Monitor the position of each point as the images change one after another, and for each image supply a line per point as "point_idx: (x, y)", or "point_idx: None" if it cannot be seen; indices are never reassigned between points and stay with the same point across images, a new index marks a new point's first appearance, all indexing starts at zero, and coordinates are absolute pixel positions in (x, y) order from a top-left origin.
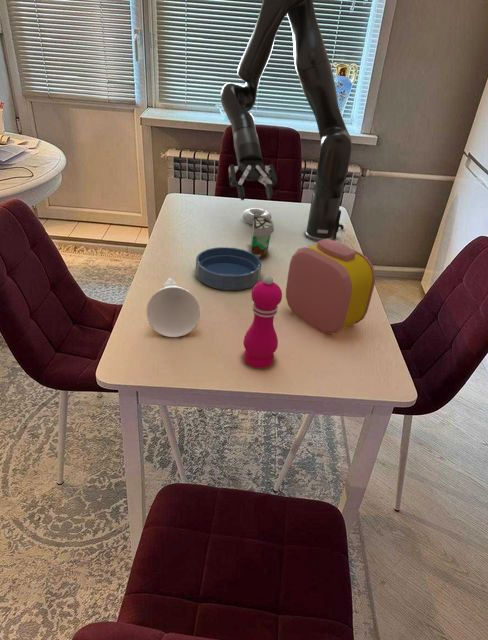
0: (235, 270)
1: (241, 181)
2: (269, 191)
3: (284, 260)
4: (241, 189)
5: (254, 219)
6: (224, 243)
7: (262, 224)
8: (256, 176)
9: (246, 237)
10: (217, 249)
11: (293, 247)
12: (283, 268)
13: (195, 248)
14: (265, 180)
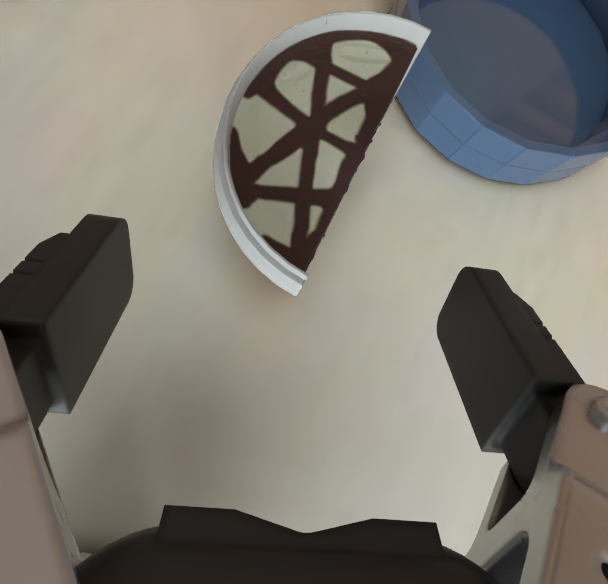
0: (470, 78)
1: (601, 439)
2: (95, 248)
3: (202, 103)
4: (538, 342)
5: (321, 229)
6: (408, 360)
7: (306, 127)
8: (231, 547)
9: (261, 406)
10: (559, 147)
11: (64, 217)
12: (250, 39)
13: (559, 341)
14: (28, 418)
